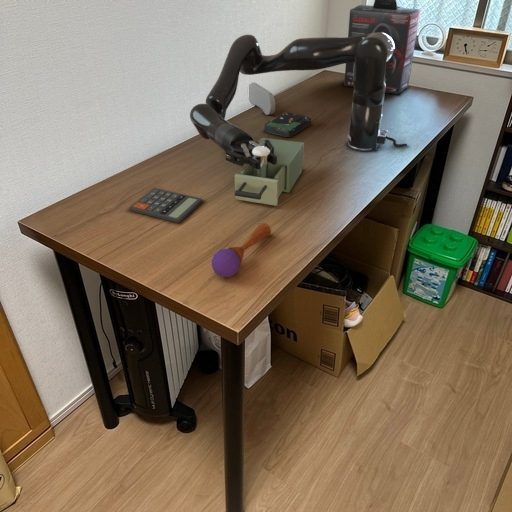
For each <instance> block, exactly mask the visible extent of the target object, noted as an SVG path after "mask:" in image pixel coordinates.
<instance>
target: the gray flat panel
mask: <svg viewBox="0 0 512 512" xmlns="http://www.w3.org/2000/svg"><path fill="white" fill-rule="evenodd" d="M248 86H249V98H248V101H249V103H250V104H251V106H257V107H258V108H259V109H261V110H262V112H263V113H264V114H265V115H266V116H269V115H273V114H274V113H275V111H276V100H275V97H274V94H273V93H272V92H271V91H269V90H268V89H266V88H265V87H263V86H262V85H260V84H258V83H257V82H251V83H249V84H248Z"/></svg>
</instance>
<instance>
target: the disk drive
mask: <svg viewBox="0 0 512 512" xmlns="http://www.w3.org/2000/svg"><path fill="white" fill-rule="evenodd" d="M311 124H312V117H311V116H307V115H303V114H299V113H297V114H293V112H289V111H285V112H284V113H282V114H280V115H278V116H277V117H275V118H273V119H271V120H270V121H267V122H265V123H264V124H263V131H264V132H266V133H269V134H273V135H277V136H280V137H284V138H290V137H292V136H295V135H296V134H297V133H299V132H301V131H302V130H303V129H306V128H307V127H308V126H310V125H311Z"/></svg>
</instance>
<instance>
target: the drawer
mask: <svg viewBox="0 0 512 512" xmlns="http://www.w3.org/2000/svg"><path fill="white" fill-rule="evenodd" d="M233 179H234V198H235V200H240V201H245V202H252V203H258V204H265V205H268V206H269V205H270V206H276V207H277V206H278V204H279V197H280V196H281V195H282V193H283V192H282V191H283V189H284V188H285V186H286V182H287V166H284V165H277V164H275V165H273V164H270V163H269V164H268V174H267V178H261V177H255V176H254V168H253V167H252V166H250V165H246V167H245V166H244V167H243V169H242V170H241V171H240V173H235V174H234V178H233Z"/></svg>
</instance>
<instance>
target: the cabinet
mask: <svg viewBox="0 0 512 512" xmlns="http://www.w3.org/2000/svg"><path fill="white" fill-rule="evenodd" d="M265 140H269V141H270V142H271V144H272V145H273V147H274V155H275V156H277V165H284V166H287V182H286V186H285V188H284V189H283V191H282V193H283V192H284V193H290V192H291V190H292V189H293V187H294V185H295V184H296V182H297V180H298V179H299V177H300V175H301V174H302V172H303V167H304V149H305V148H304V147H305V146H304V145H305V143H304V142H299V141H291V140H283V139H277V138H267V137H261V138H260V139H259V140H258V141H257V142H259V143H264V142H265ZM269 163H270V162H269ZM270 164H271V163H270ZM246 165H247V164H244V168H245V167H246Z"/></svg>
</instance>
